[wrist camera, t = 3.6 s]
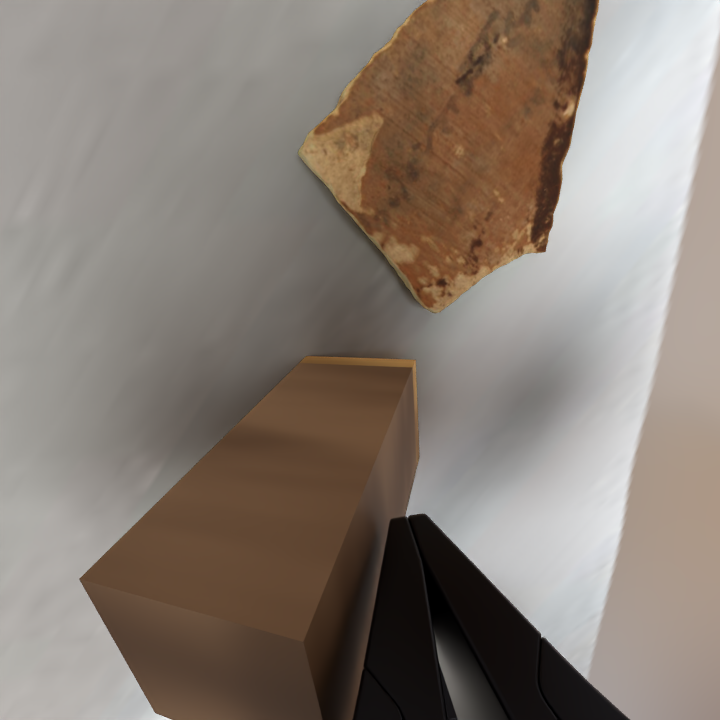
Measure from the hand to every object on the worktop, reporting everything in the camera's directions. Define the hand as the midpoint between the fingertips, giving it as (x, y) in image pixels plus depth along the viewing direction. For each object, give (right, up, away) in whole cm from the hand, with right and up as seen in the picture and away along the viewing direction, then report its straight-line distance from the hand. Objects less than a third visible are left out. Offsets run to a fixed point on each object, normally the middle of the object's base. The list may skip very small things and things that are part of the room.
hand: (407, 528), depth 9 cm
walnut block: (-1, +2, +5) cm, 6 cm away
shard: (+1, +12, +3) cm, 12 cm away
